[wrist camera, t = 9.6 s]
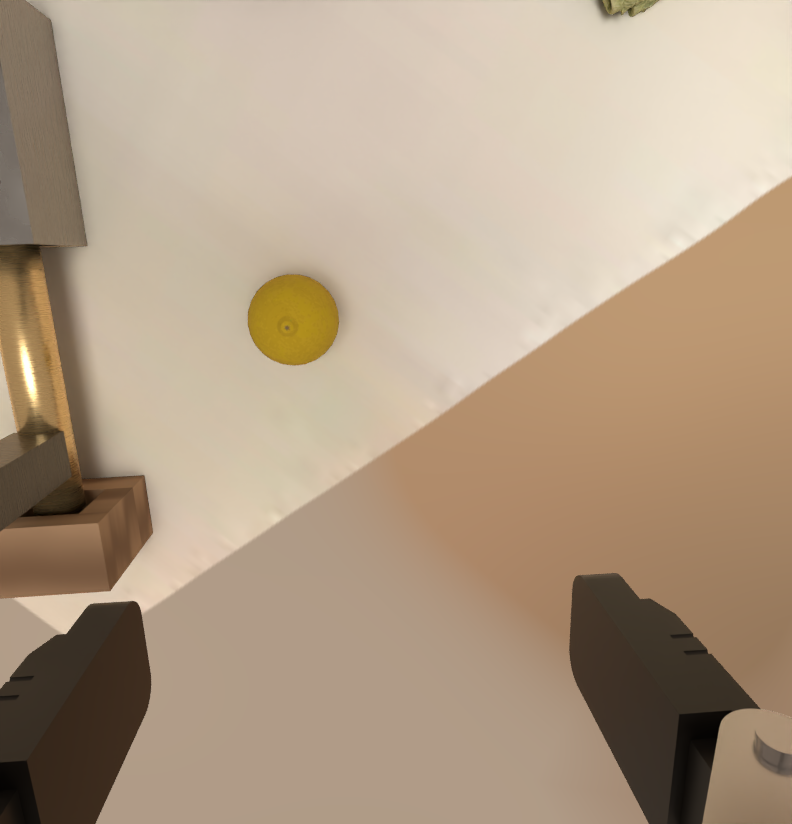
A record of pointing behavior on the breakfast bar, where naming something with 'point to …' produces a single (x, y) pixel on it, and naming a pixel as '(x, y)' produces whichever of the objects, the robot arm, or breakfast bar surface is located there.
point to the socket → (77, 542)
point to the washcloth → (628, 6)
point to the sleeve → (34, 136)
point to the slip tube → (34, 397)
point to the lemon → (293, 319)
